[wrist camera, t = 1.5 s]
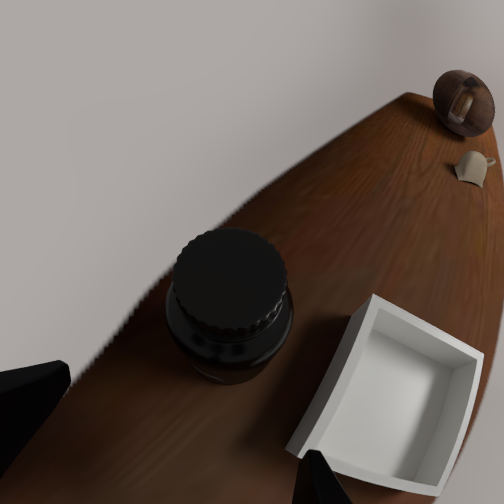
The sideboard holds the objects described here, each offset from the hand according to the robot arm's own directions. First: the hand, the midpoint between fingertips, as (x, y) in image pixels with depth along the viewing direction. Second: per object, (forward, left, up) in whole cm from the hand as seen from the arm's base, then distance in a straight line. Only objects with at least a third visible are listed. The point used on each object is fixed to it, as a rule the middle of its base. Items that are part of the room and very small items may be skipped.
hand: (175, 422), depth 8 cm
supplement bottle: (+6, +2, -12) cm, 14 cm away
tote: (+7, -12, -12) cm, 19 cm away
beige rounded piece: (+48, -20, -13) cm, 53 cm away
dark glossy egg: (+66, -17, -12) cm, 69 cm away
